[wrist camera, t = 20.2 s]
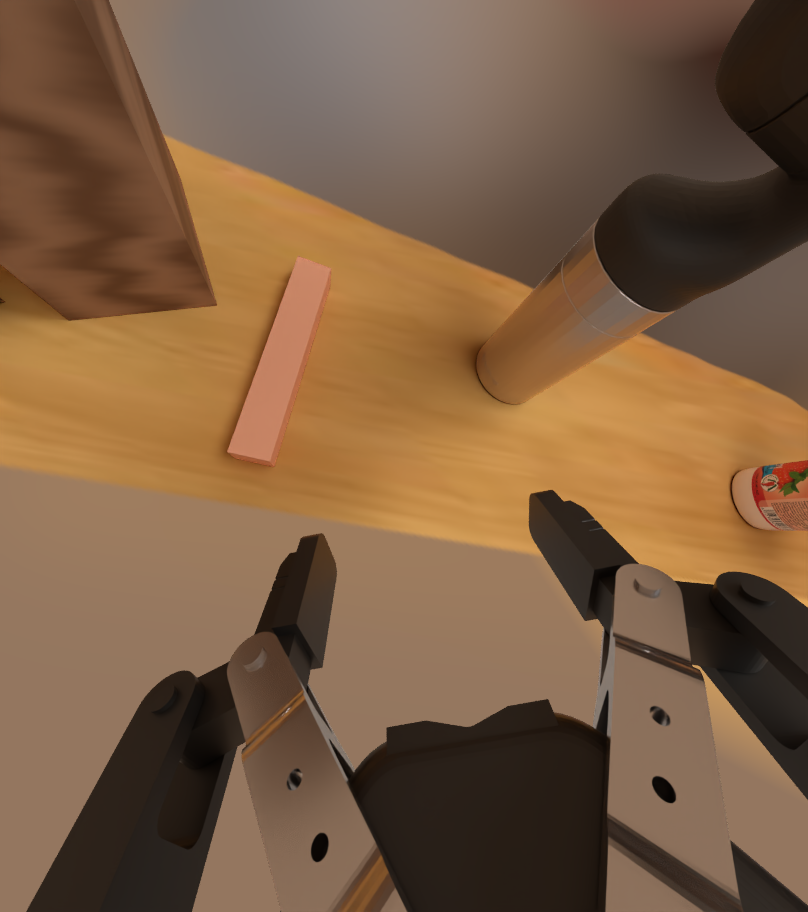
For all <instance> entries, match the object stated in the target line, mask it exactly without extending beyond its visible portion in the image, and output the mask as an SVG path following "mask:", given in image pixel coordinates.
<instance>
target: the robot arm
mask: <svg viewBox="0 0 808 912" xmlns="http://www.w3.org/2000/svg"><path fill="white" fill-rule="evenodd" d="M715 88H716V92H717V95H718V98H719V100H720V102H721V104H722V105H723V107H724V109H725V111H726V112H727V114H728V115H729V116H730V118H731V119H732V120H733V122H734V123H735V124H736V125H737V126H738V127H739V128H740V129H741V130H743V131H744V132H746V135H747V136H748V137H750V138H751V139H752V140H753V141H754V142H755V143H756V144H757V145H758V146H759V147H760V148H761V149H762V150H763V151H764V152H765V153H766V154H767V155H768V156H769V157H770V158H771V159H772V160H773V161H774V162H775V163H776V164H777V165H778V166H779V167H777V168H775V169H773V170H771V171H769V172H767V173H765V174H763V175H760V176H757V177H755V178H750V179H744V180H738V181H727V182H709V181H700V180H694V179H689V178H684V177H680V176H674V175H670V174H652V175H648V176H645V177H642V178H640V179H638V180H636V181H635V182H633V183H632V184H631V185H629V186H628V187H627V188H626V189H625V190H624V191H623V192H622V193H621V194H620V195H619V196H618V197H617V198H616V199H615V200H614V201H613V202H612V204H611V205H610V206H609V207H608V208H607V209H606V210H605V211H604V212H603V214H602V215H601V216H600V217H599V218H598V219H597V221H596V222H595V223H594V224H593V225H592V226H591V227H590V228H589V229H588V231H587V232H586V233H585V234H584V235H583V236H582V237H581V238H580V239H579V240H578V242H577V243H576V244H575V245H574V246H573V247H572V248H571V249H570V250H569V252H568V253H567V254H566V255H565V256H564V257H563V258H562V260H561V261H560V262H559V263H558V264H557V265H556V266H555V267H554V268H553V269H552V270H551V272H550V273H549V274H548V275H547V276H546V277H545V278H544V280H542V282H541V283H540V284H539V285H538V286H537V287H536V288H535V289H534V290H533V291H532V292H531V294H530V295H529V296H528V297H527V298H526V299H525V300H524V301H523V302H522V304H521V305H520V306H519V307H518V308H517V309H516V310H515V311H514V312H513V313H512V315H511V316H510V317H509V318H508V319H507V320H506V321H505V322H504V323H503V324H502V326H501V327H500V328H499V329H498V330H497V331H496V332H495V333H494V334H493V335H492V336H491V338H490V339H489V340H488V341H487V342H486V343H485V344H484V345H483V346H482V348H481V349H480V351H479V353H478V356H477V361H476V367H477V373H478V376H479V379H480V381H481V383H482V384H483V386H484V387H485V388H486V390H487V391H488V392H489V393H490V394H491V395H492V396H494V397H495V398H497V399H498V400H500V401H503V402H505V403H510V404H520V403H523V402H526V401H527V400H529V399H531V398H532V397H534V396H536V395H537V394H539V393H541V392H543V391H544V390H546V389H548V388H549V387H551V386H553V385H554V384H556V383H558V382H559V381H561V380H563V379H564V378H566V377H568V376H569V375H571V374H573V373H574V372H576V371H578V370H579V369H581V368H583V367H584V366H586V365H587V364H589V363H591V362H592V361H594V360H596V359H597V358H599V357H601V356H602V355H604V354H606V353H607V352H609V351H611V350H612V349H614V348H616V347H617V346H619V345H621V344H622V343H624V342H626V341H627V340H629V339H630V338H632V337H634V336H635V335H637V334H638V333H640V332H642V331H643V330H645V329H646V328H648V327H650V326H651V325H653V324H655V323H657V322H658V321H660V320H662V319H663V318H665V317H666V316H668V315H670V314H671V313H673V312H675V311H676V310H678V309H680V308H681V307H683V306H685V305H686V304H688V303H690V302H691V301H693V300H695V299H697V298H699V297H701V296H703V295H705V294H708V293H711V292H713V291H716V290H718V289H721V288H723V287H725V286H727V285H729V284H731V283H733V282H735V281H737V280H739V279H741V278H743V277H744V276H746V275H748V274H750V273H752V272H753V271H755V270H757V269H759V268H760V267H762V266H764V265H766V264H767V263H769V262H771V261H773V260H774V259H776V258H778V257H780V256H781V255H783V254H785V253H787V252H789V251H791V250H792V249H794V248H796V247H798V246H800V245H802V244H803V243H805V242H807V241H808V0H755V1H754V2H753V4H752V5H751V7H750V9H749V10H748V11H747V13H746V14H745V16H744V17H743V19H742V20H741V22H740V23H739V25H738V26H737V29H736V30H735V32H734V34H733V35H732V37H731V39H730V41H729V42H728V44H727V46H726V48H725V50H724V52H723V54H722V57H721V60H720V62H719V66H718V69H717V73H716V78H715ZM529 529H530V533H531V536H532V538H533V540H534V542H535V543H536V545H537V547H538V548H539V550H540V551H541V553H542V554H543V556H544V558H545V559H546V561H547V562H548V564H549V565H550V567H551V568H552V570H553V572H554V573H555V575H556V576H557V578H558V579H559V581H560V583H561V584H562V586H563V587H564V589H565V590H566V592H567V593H568V595H569V597H570V598H571V600H572V601H573V603H574V604H575V606H576V608H577V609H578V611H579V612H580V614H581V616H582V617H583V619H584V620H585V621H587V620H593V619H598V620H599V621H600V623H601V624H602V626H603V627H604V628H603V634H602V645H601V657H600V658H601V659H600V670H599V682H598V693H597V700H596V707H595V714H594V721H593V727H592V726H590V725H588V724H586V723H584V722H583V721H580V720H578V719H576V718H573V717H570V716H567V715H564V714H560V713H554V712H553V710H552V707H551V705H550V703H549V700H548V699H546V700H540V701H535V702H529V703H523V704H518V705H512V706H507V707H506V708H504V709H502V710H500V711H499V712H497V713H495V714H493V715H491V716H490V717H488V718H486V719H484V720H483V721H481V722H479V723H477V724H475V725H474V726H471V727H462V726H456V725H450V724H444V723H437V722H430V721H422V722H415V723H410V724H404V725H399V726H393V727H388V728H387V742H385V743H383V744H381V745H380V746H379V747H377V748H376V749H375V750H373V751H372V752H371V753H370V754H369V755H368V756H367V757H366V758H365V759H364V760H363V761H362V762H361V764H360V765H359V766H358V767H357V769H356V770H354V767H353V766H352V764H351V762H350V760H349V758H348V757H347V755H346V753H345V751H344V750H343V748H342V746H341V745H340V743H339V741H338V739H337V738H336V736H335V734H334V732H333V730H332V728H331V726H330V724H329V722H328V721H327V718H326V717H325V715H324V713H323V711H322V709H321V707H320V705H319V703H318V701H317V699H316V697H315V695H314V694H313V692H312V690H311V688H310V686H309V684H308V680H309V675H310V670H311V669H316V668H322V666H323V660H324V654H325V647H326V641H327V634H328V628H329V621H330V615H331V608H332V602H333V596H334V590H335V583H336V576H337V570H336V563H335V560H334V558H333V556H332V553H331V551H330V548H329V546H328V543H327V541H326V539H325V536H324V535H323V534H322V533H321V534H316V535H310V536H305V537H302V538H301V540H300V543H299V546H298V549H297V552H295V553H290V554H289V555H288V556H287V558H286V559H285V560H284V561H283V563H282V564H281V566H280V568H279V570H278V573H277V576H276V580H275V581H274V584H273V587H272V591H271V592H270V594H269V597H268V600H267V602H266V605H265V608H264V610H263V613H262V616H261V618H260V621H259V624H258V627H257V629H256V632H255V634H254V635H253V636H251V637H250V638H248V639H247V640H246V641H245V642H243V643H242V644H241V645H240V646H239V647H238V649H237V650H236V651H235V652H234V654H233V655H232V657H231V659H230V661H229V662H228V663H226V664H224V665H222V666H220V667H218V668H216V669H214V670H212V671H210V672H208V673H206V674H204V675H202V676H200V677H198V678H197V677H195V675H193V674H192V673H191V672H189V671H179V672H176V673H174V674H171V675H170V676H168V677H166V678H165V679H163V680H162V681H161V682H160V683H158V684H157V685H156V686H155V687H154V688H153V689H152V690H151V691H150V692H149V693H148V694H147V696H146V697H145V698H144V700H143V701H142V702H141V704H140V705H139V707H138V709H137V711H136V713H135V715H134V716H133V718H132V720H131V722H130V724H129V725H128V727H127V729H126V731H125V733H124V734H123V736H122V738H121V740H120V742H119V744H118V745H117V747H116V749H115V751H114V753H113V754H112V756H111V758H110V760H109V762H108V764H107V765H106V767H105V769H104V771H103V773H102V775H101V776H100V778H99V780H98V782H97V784H96V786H95V787H94V789H93V791H92V793H91V795H90V796H89V799H88V800H87V802H86V804H85V806H84V808H83V809H82V811H81V813H80V815H79V817H78V819H77V820H76V822H75V824H74V826H73V827H72V829H71V831H70V833H69V835H68V837H67V839H66V840H65V842H64V844H63V846H62V848H61V849H60V851H59V853H58V855H57V857H56V858H55V860H54V862H53V864H52V866H51V868H50V869H49V871H48V873H47V875H46V877H45V879H44V881H43V882H42V884H41V886H40V888H39V890H38V892H37V893H36V895H35V897H34V899H33V901H32V902H31V904H30V906H29V908H28V910H27V912H192V909H193V905H194V902H195V898H196V894H197V891H198V887H199V884H200V880H201V877H202V873H203V869H204V866H205V862H206V858H207V854H208V851H209V848H210V844H211V840H212V837H213V833H214V829H215V826H216V822H217V818H218V815H219V811H220V808H221V804H222V801H223V797H224V793H225V790H226V786H227V782H228V779H229V775H230V772H231V768H232V764H233V761H234V757H235V754H236V749H237V746H239V745H241V744H243V743H244V742H246V747H245V748H244V749H243V750H242V762H243V767H244V771H245V775H246V779H247V782H248V786H249V790H250V794H251V798H252V801H253V805H254V809H255V813H256V817H257V821H258V825H259V828H260V832H261V836H262V840H263V844H264V848H265V851H266V855H267V859H268V863H269V867H270V871H271V874H272V878H273V882H274V886H275V890H276V894H277V897H278V901H279V905H280V909H281V911H280V912H808V905H807V904H805V903H804V902H803V901H802V900H801V899H800V898H798V897H797V896H796V895H795V894H794V893H792V892H791V891H790V890H789V889H788V888H787V887H785V886H784V885H783V884H782V883H781V882H779V881H778V880H777V879H776V878H775V877H773V876H772V875H771V874H770V873H769V872H768V871H766V870H765V869H764V868H763V867H762V866H760V865H759V864H758V863H757V862H756V861H754V860H753V859H752V858H751V857H750V856H748V855H747V854H746V853H745V852H743V850H741V849H740V848H739V847H738V846H736V845H735V844H734V843H733V842H732V841H731V840H730V837H729V831H728V824H727V818H726V812H725V806H724V800H723V793H722V788H721V781H720V775H719V768H718V763H717V756H716V750H715V744H714V738H713V731H712V725H711V719H710V713H709V706H708V701H707V694H706V688H705V682H704V679H703V676H702V673H701V671H700V670H699V669H697V668H694V667H693V666H692V665H698V666H700V667H701V668H702V670H703V671H704V672H705V673H706V674H707V676H708V677H709V678H710V679H711V681H712V682H713V683H714V684H715V686H716V687H717V688H718V689H719V691H720V692H721V693H722V694H723V696H724V697H725V698H726V699H727V700H728V701H729V703H730V704H731V705H732V707H733V708H734V709H735V710H736V712H737V713H738V714H739V715H740V717H741V718H742V719H743V720H744V722H745V723H746V724H747V725H748V726H749V728H750V729H751V730H752V731H753V733H754V734H755V735H756V736H757V737H758V739H759V740H760V741H761V742H762V744H763V745H764V746H765V747H766V749H767V750H768V751H769V752H770V754H771V755H772V756H773V757H774V759H775V760H776V761H777V762H778V764H779V765H780V766H781V767H782V769H783V770H784V771H785V772H786V773H787V775H788V776H789V777H790V778H791V780H792V781H793V782H794V783H795V784H796V786H797V787H798V788H799V789H800V791H801V792H802V793H803V795H804V796H805V797H806V798H807V799H808V607H806V606H805V605H804V604H802V603H801V602H800V601H798V600H797V599H796V598H794V597H793V596H792V595H791V594H789V593H788V592H787V591H785V590H784V589H782V588H781V587H779V586H778V585H776V584H774V583H772V582H770V581H768V580H766V579H763V578H761V577H758V576H755V575H752V574H748V573H742V572H726V573H723V574H721V575H719V576H718V578H717V579H716V581H715V584H714V585H712V584H701V583H690V582H680V581H674V580H673V579H672V578H670V577H669V576H668V575H666V574H665V573H663V572H662V571H660V570H658V569H655V568H653V567H650V566H647V565H642V564H639V563H638V562H636V561H635V559H634V558H633V557H632V556H631V555H630V554H629V553H628V552H627V551H626V550H625V549H624V548H623V547H622V546H621V545H620V544H619V543H618V542H617V541H616V540H615V539H614V538H613V537H612V536H611V535H610V534H609V533H608V532H607V531H606V530H605V529H603V527H602V526H601V525H600V524H599V523H598V522H597V521H595V519H594V518H593V517H592V516H591V515H590V513H589V512H588V511H587V510H586V509H585V508H583V507H581V506H579V505H577V504H576V503H574V502H572V501H565V502H564V501H563V500H562V499H561V498H560V497H559V496H558V495H557V494H556V493H555V492H554V491H553V490H548V491H542V492H537V493H532V494H531V495H530V499H529Z"/></svg>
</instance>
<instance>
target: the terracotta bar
mask: <svg viewBox="0 0 808 912" xmlns="http://www.w3.org/2000/svg"><path fill="white" fill-rule="evenodd" d="M330 282H331V268H329V267H326V266H324V265H321V264H318V263H316V262H313V261H310V260H308V259H305V258H302V257H300V256H298V257H297V260H296V263H295V266H294V268H293V271H292V274H291V277H290V279H289V282H288V285H287V288H286V291H285V293H284V296H283V299H282V302H281V304H280V307H279V310H278V313H277V315H276V318H275V321H274V324H273V326H272V329H271V332H270V335H269V337H268V340H267V343H266V346H265V348H264V351H263V354H262V357H261V360H260V362H259V365H258V368H257V371H256V373H255V376H254V379H253V382H252V384H251V387H250V390H249V393H248V395H247V398H246V401H245V404H244V406H243V409H242V412H241V415H240V418H239V420H238V423H237V426H236V429H235V431H234V434H233V437H232V440H231V442H230V445H229V448H228V451H227V452H228V453H229V454H230V455H232V456H233V457H234V458H236V459H240V460H245V461H249V462H254V463H258V464H263V465H267V466H272V467H274V466H275V463H276V460H277V457H278V453H279V450H280V447H281V444H282V441H283V437H284V434H285V431H286V428H287V424H288V421H289V418H290V415H291V412H292V408H293V405H294V402H295V399H296V395H297V392H298V389H299V386H300V383H301V379H302V376H303V373H304V370H305V367H306V363H307V360H308V357H309V354H310V350H311V347H312V344H313V341H314V338H315V334H316V331H317V328H318V325H319V321H320V318H321V315H322V312H323V309H324V305H325V302H326V299H327V296H328V293H329V289H330Z"/></svg>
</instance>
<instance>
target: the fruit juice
mask: <svg viewBox="0 0 808 912" xmlns="http://www.w3.org/2000/svg"><path fill="white" fill-rule="evenodd" d="M732 495H733V499H734V502H735V505H736V507H737V509H738V511H739V513H740V514H741V516H742V517H743V518H744V519H745V520H746V521H747V522H748V523H749V524H750V525H752V526H753V527H756V528H759V529H764V530H802V531H808V460H806V461H799V462H791V463H784V464H777V465H769V466H762V467H754V468H749V469H745V470H742V471H740V472H738V473H737V474H736V475H735V477H734V479H733V482H732Z"/></svg>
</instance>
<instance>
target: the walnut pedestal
mask: <svg viewBox="0 0 808 912" xmlns="http://www.w3.org/2000/svg"><path fill="white" fill-rule="evenodd" d="M0 265H2V266H3V267H4V268H5V269H7V270H8V271H9V272H10V273H11V274H13V275H14V276H15V277H16V278H18V279H19V280H20V281H21V282H22V283H24V284H25V285H26V286H27V287H29V288H30V289H31V290H32V291H33V292H35V293H36V294H37V295H38V296H40V297H41V298H42V299H43V300H44V301H46V302H47V303H48V304H49V305H51V306H52V307H53V308H54V309H55V310H57V311H58V312H59V313H60V314H62V315H63V316H64V317H65V318H66V319H68V320H78V319H87V318H97V317H107V316H117V315H126V314H136V313H146V312H156V311H166V310H175V309H185V308H195V307H205V306H215V305H217V303H216V300H215V297H214V293H213V290H212V286H211V283H210V279H209V276H208V272H207V269H206V265H205V262H204V258H203V255H202V252H201V248H200V245H199V241H198V238H197V234H196V231H195V227H194V224H193V220H192V217H191V213H190V210H189V207H188V203H187V200H186V196H185V193H184V189H183V186H182V182H181V179H180V176H179V174H178V171H177V169H176V166H175V164H174V161H173V159H172V156H171V154H170V151H169V149H168V146H167V144H166V141H165V139H164V136H163V134H162V131H161V130H160V127H159V124H158V122H157V119H156V117H155V114H154V112H153V109H152V107H151V104H150V102H149V99H148V97H147V94H146V92H145V89H144V87H143V84H142V82H141V79H140V77H139V74H138V72H137V69H136V67H135V64H134V62H133V59H132V57H131V55H130V52H129V49H128V47H127V45H126V43H125V40H124V37H123V35H122V32H121V30H120V27H119V25H118V22H117V20H116V17H115V15H114V12H113V10H112V7H111V5H110V2H109V0H0Z"/></svg>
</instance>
